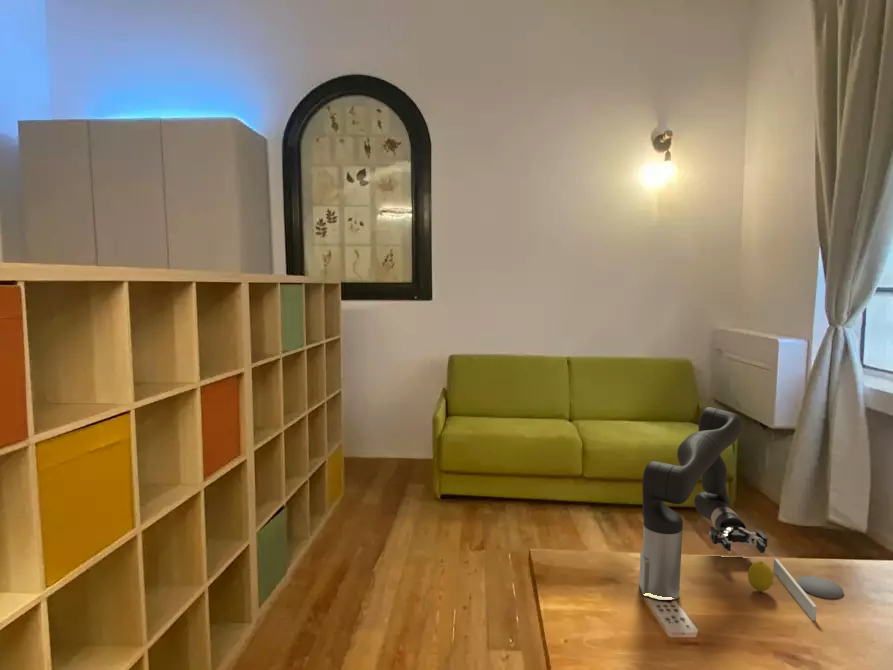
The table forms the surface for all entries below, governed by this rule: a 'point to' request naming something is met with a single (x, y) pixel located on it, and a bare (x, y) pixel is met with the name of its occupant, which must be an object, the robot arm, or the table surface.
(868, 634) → the table surface
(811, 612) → the low wall
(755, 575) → the lemon
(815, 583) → the slate mat
